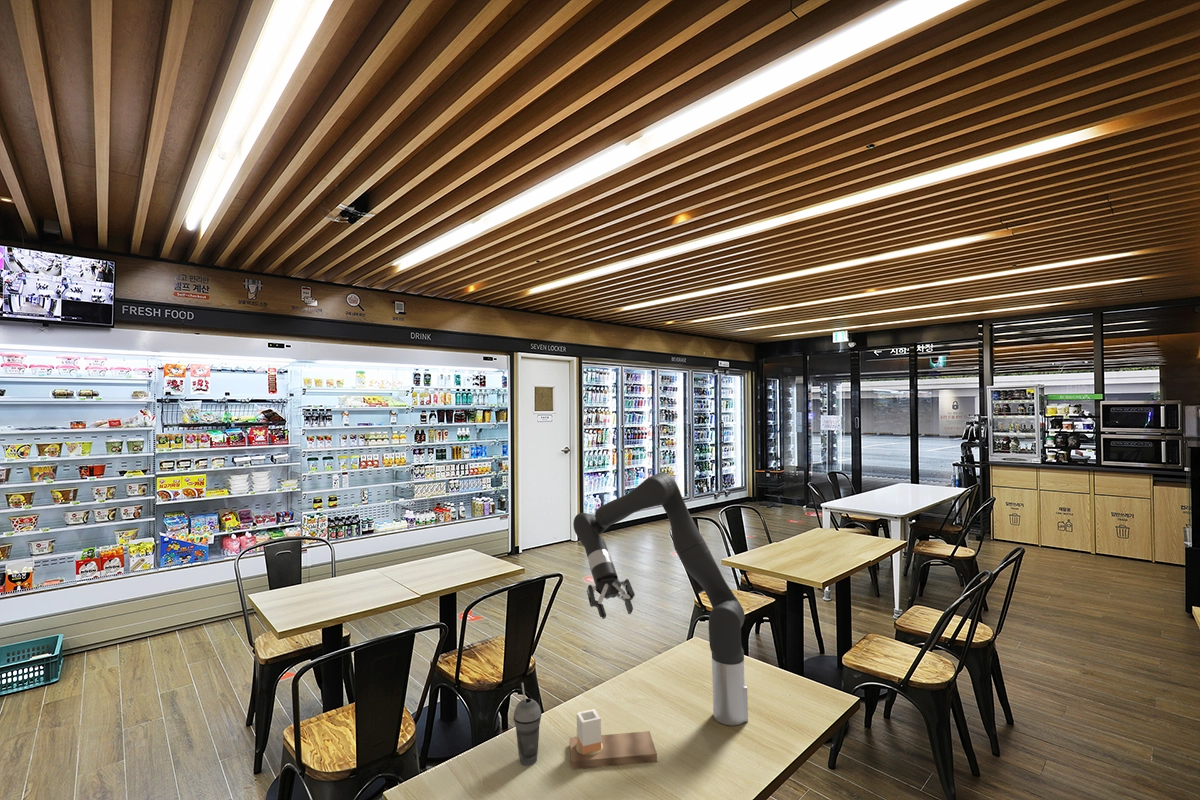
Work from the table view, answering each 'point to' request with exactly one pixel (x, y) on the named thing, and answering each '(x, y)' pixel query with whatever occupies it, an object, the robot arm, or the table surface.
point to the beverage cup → (527, 729)
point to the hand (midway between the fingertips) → (617, 615)
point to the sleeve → (589, 731)
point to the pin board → (615, 751)
